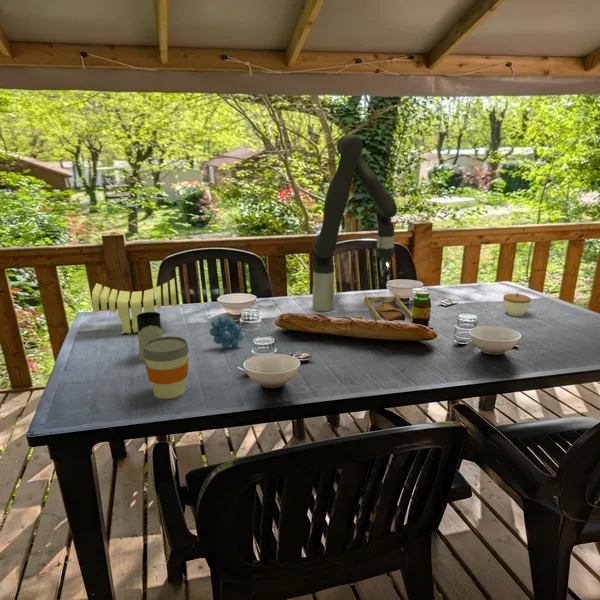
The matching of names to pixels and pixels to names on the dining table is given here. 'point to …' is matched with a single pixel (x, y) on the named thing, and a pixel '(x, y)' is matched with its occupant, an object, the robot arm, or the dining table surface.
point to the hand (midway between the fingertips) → (384, 283)
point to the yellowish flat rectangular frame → (385, 299)
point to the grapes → (226, 332)
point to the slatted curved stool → (132, 302)
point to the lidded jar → (516, 304)
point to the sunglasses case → (389, 312)
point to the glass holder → (148, 329)
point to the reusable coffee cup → (167, 365)
